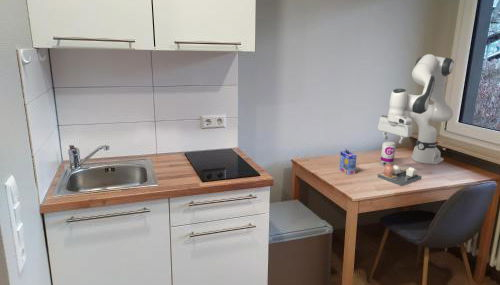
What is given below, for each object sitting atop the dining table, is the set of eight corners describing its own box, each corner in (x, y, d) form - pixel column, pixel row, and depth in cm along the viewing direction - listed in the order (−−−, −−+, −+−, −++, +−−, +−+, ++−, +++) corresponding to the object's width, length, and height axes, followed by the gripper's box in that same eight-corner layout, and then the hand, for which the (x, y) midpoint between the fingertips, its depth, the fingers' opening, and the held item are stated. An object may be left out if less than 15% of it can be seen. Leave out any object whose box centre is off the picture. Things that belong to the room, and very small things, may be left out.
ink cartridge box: (338, 169, 230) (340, 147, 226) (345, 168, 232) (348, 147, 228) (347, 175, 221) (349, 152, 217) (355, 174, 223) (357, 151, 219)
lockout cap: (387, 173, 219) (388, 162, 217) (393, 175, 215) (395, 164, 213) (382, 174, 216) (383, 163, 214) (389, 177, 213) (390, 166, 211)
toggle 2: (409, 173, 219) (410, 166, 218) (416, 175, 216) (417, 168, 215) (405, 174, 217) (407, 167, 216) (412, 176, 214) (413, 169, 213)
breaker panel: (397, 171, 229) (397, 166, 228) (421, 179, 217) (421, 174, 216) (377, 177, 219) (378, 172, 218) (401, 185, 206) (401, 180, 205)
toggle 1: (394, 171, 222) (395, 164, 221) (400, 173, 219) (401, 166, 218) (390, 172, 220) (391, 165, 219) (396, 174, 217) (397, 167, 216)
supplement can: (394, 167, 237) (397, 145, 233) (380, 166, 239) (383, 144, 235) (391, 163, 245) (394, 141, 241) (379, 162, 246) (381, 140, 242)
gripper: (376, 115, 213) (374, 137, 217) (408, 121, 197) (405, 146, 201) (383, 114, 217) (380, 136, 220) (415, 120, 200) (411, 144, 204)
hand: (392, 141), depth 210 cm, fingers open, 8 cm apart
